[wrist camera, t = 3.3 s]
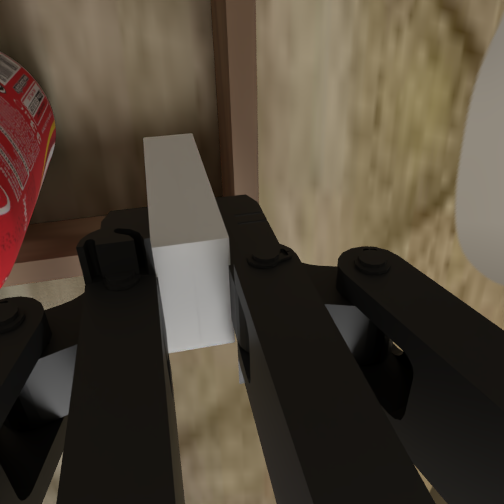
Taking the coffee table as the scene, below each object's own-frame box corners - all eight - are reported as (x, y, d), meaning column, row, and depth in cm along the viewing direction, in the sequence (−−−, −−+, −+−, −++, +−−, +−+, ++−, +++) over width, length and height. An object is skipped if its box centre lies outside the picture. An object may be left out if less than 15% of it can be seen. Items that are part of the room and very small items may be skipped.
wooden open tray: (-141, 265, 25) (-182, 313, 21) (-362, -130, 16) (-489, -154, 13) (243, 217, 28) (259, 250, 25) (231, -126, 20) (253, -144, 16)
